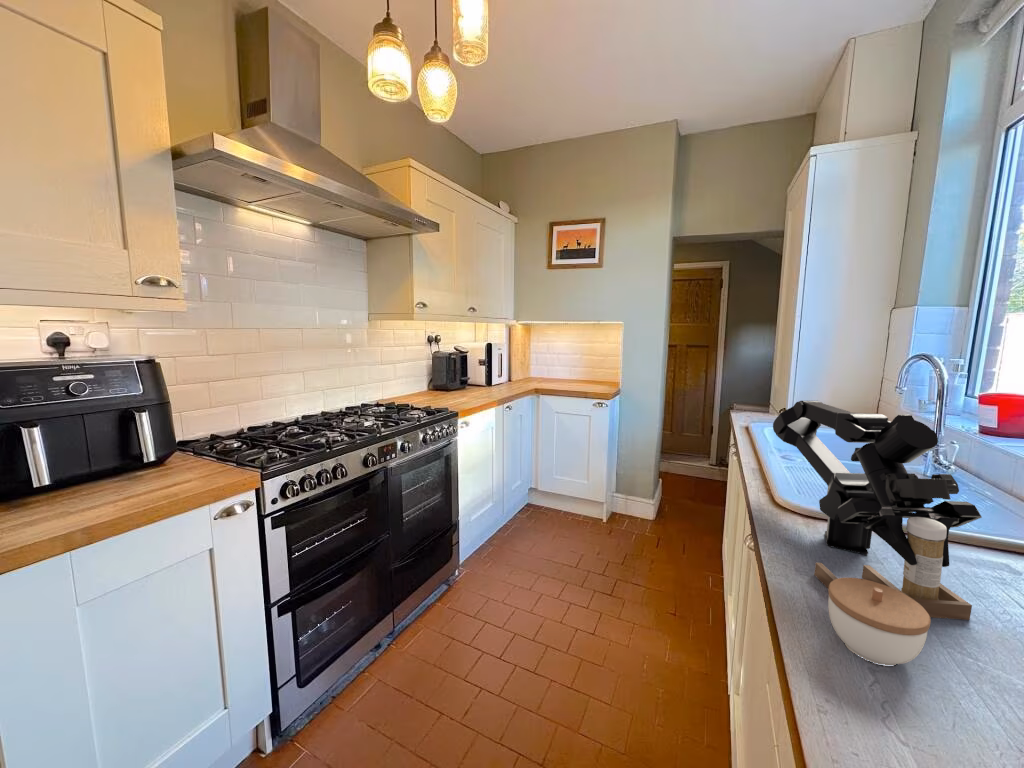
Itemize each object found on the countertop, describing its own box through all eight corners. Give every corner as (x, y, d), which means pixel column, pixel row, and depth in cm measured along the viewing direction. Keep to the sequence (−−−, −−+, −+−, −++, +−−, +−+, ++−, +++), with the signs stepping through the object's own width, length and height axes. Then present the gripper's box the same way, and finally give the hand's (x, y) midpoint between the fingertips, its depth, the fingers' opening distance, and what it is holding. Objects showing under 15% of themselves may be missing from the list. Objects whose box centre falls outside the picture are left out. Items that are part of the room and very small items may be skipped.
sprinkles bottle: (899, 585, 72) (905, 513, 70) (936, 595, 69) (944, 519, 67) (902, 600, 68) (909, 524, 66) (941, 611, 65) (950, 532, 63)
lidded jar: (807, 635, 62) (813, 577, 60) (850, 614, 66) (856, 560, 65) (895, 693, 52) (905, 627, 51) (939, 664, 56) (949, 602, 55)
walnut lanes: (814, 574, 76) (815, 562, 76) (916, 580, 74) (918, 568, 74) (850, 612, 66) (852, 598, 66) (969, 619, 64) (972, 605, 64)
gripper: (855, 453, 70) (898, 549, 61) (980, 456, 68) (1044, 556, 59) (822, 479, 79) (855, 566, 70) (931, 482, 77) (980, 573, 68)
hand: (929, 565), depth 66 cm, fingers closed on sprinkles bottle, 4 cm apart
